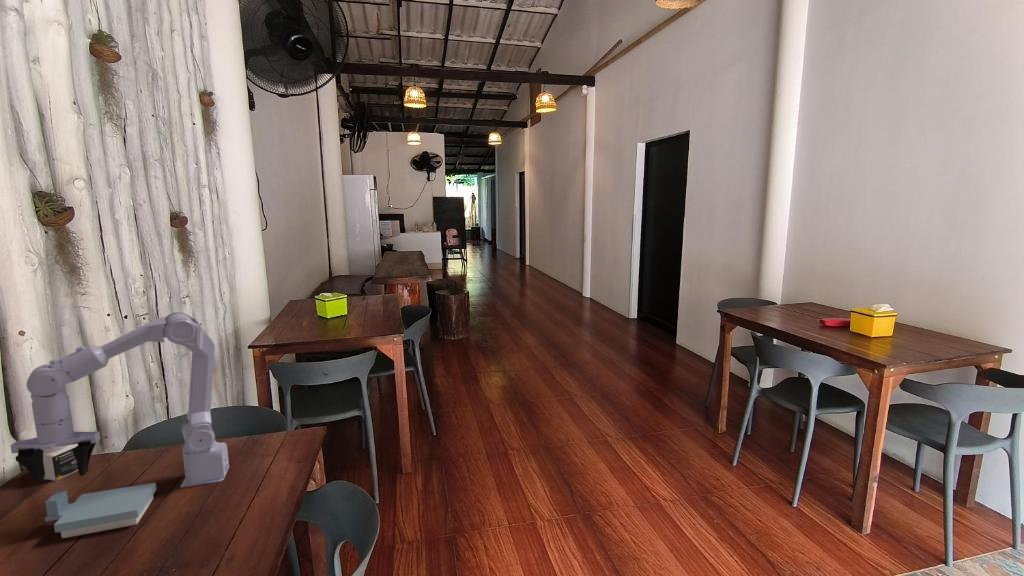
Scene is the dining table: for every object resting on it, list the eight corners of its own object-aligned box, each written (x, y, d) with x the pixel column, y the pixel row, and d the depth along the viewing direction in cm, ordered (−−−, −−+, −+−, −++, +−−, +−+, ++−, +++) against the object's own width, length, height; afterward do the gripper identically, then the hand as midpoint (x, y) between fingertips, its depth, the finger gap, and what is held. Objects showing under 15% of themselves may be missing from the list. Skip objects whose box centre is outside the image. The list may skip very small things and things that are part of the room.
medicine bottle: (56, 481, 118) (49, 438, 116) (34, 478, 119) (27, 435, 117) (86, 466, 125) (80, 425, 123) (66, 463, 126) (59, 423, 124)
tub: (153, 500, 110) (152, 487, 110) (137, 526, 101) (135, 512, 101) (86, 512, 106) (84, 498, 105) (62, 540, 97) (59, 525, 96)
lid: (156, 489, 111) (154, 469, 110) (138, 517, 101) (135, 495, 100) (66, 504, 105) (62, 483, 104) (36, 536, 94) (32, 512, 94)
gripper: (-4, 432, 94) (7, 492, 96) (85, 422, 99) (93, 479, 101) (19, 418, 100) (28, 475, 102) (101, 409, 105) (109, 463, 107)
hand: (62, 476), depth 102 cm, fingers open, 7 cm apart
